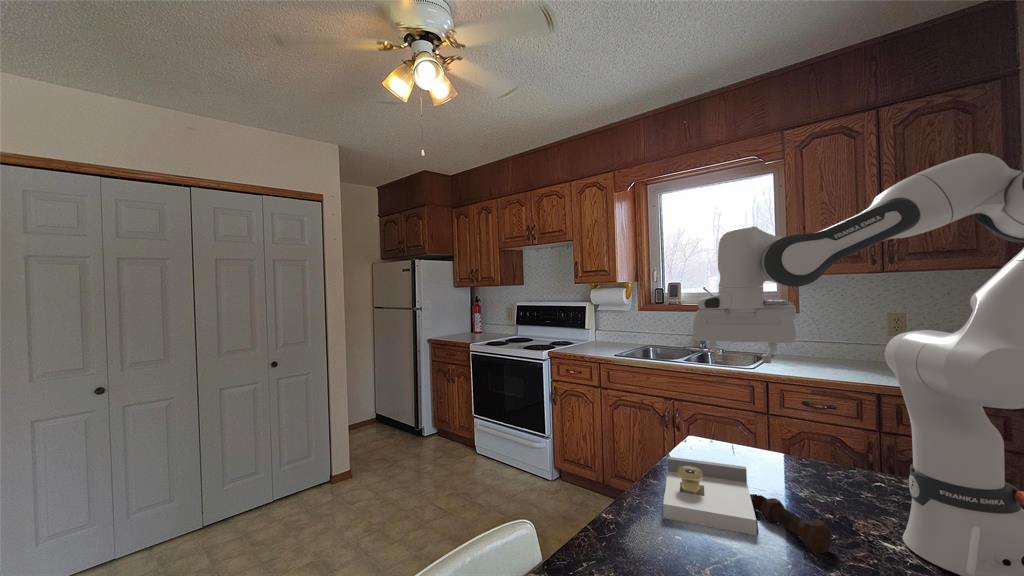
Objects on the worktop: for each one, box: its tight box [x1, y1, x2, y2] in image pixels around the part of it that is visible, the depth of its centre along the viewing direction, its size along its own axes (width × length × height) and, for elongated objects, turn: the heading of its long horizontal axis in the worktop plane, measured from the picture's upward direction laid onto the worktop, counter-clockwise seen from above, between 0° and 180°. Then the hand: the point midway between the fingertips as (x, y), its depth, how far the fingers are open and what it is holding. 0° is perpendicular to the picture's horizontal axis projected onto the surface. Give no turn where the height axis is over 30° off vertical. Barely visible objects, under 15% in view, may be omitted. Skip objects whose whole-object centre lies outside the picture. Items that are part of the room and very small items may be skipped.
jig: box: [662, 456, 758, 537], centre depth 92 cm, size 17×18×6 cm
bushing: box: [678, 466, 703, 495], centre depth 93 cm, size 5×5×7 cm
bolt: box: [751, 494, 833, 554], centre depth 83 cm, size 6×5×15 cm
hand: (742, 361), depth 93 cm, fingers open, 8 cm apart
